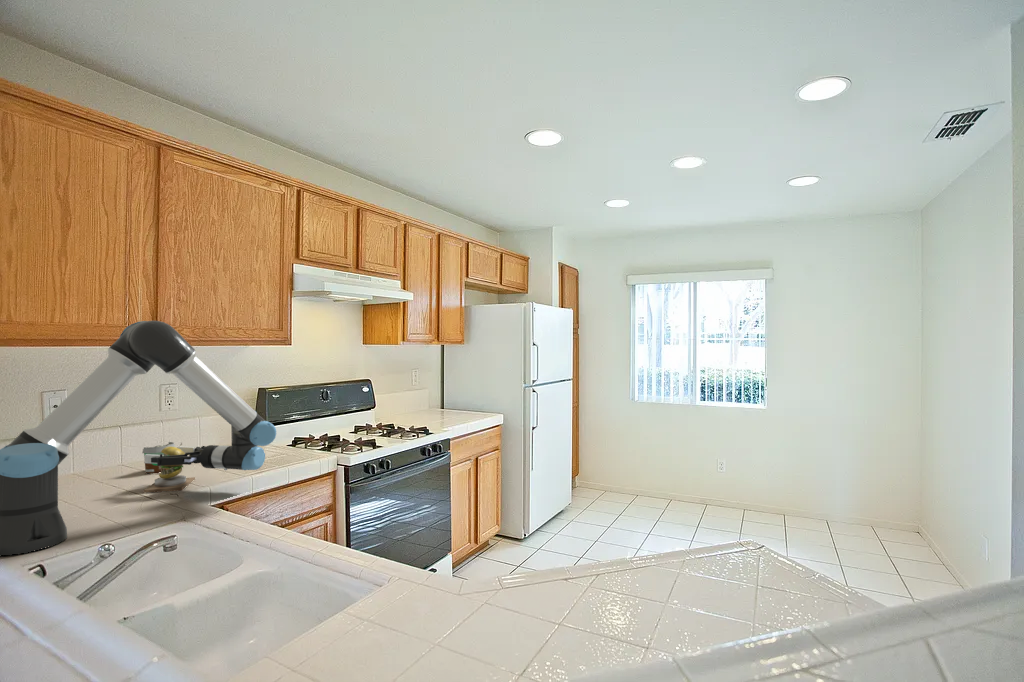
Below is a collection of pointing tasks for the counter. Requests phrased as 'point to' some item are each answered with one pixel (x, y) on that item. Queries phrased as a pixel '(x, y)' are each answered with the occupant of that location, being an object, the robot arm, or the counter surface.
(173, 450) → the hamburger
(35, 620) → the counter surface
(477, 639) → the counter surface
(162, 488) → the soap dish
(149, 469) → the food container
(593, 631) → the counter surface
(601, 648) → the counter surface
